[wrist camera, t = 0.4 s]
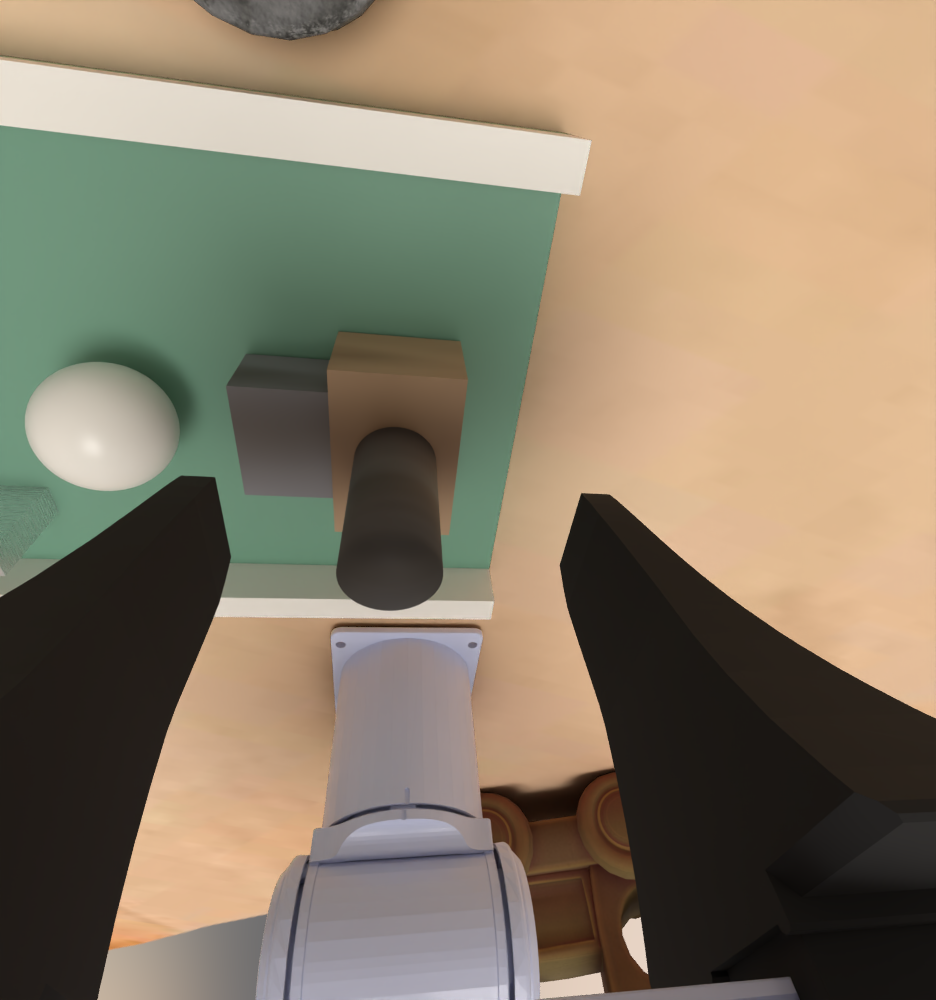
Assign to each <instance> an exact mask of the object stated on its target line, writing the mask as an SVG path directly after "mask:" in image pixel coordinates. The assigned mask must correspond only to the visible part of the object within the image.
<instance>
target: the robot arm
mask: <svg viewBox="0 0 936 1000" xmlns="http://www.w3.org/2000/svg"><path fill="white" fill-rule="evenodd" d="M230 560H231V553H230V548H229V543H228V538H227V533H226V528H225V523H224V519H223V514H222V509H221V504H220V499H219V494H218V489H217V484H216V479H215V477H205V476H183V475H181V476H179V477H178V478H176V479H175V480H173V481H172V482H170V483H169V484H167V485H166V486H165V487H163V488H162V489H160V490H159V491H158V492H156V493H155V494H154V495H152V496H151V497H149V498H148V499H147V500H145V501H144V502H143V503H141V504H140V505H139V506H137V507H136V508H134V509H133V510H132V511H130V512H129V513H128V514H126V515H125V516H123V517H122V518H121V519H119V520H118V521H116V522H115V523H114V524H112V525H111V526H109V527H108V528H107V529H105V530H104V531H102V532H101V533H100V534H98V535H97V536H95V537H94V538H93V539H91V540H90V541H88V542H87V543H85V544H84V545H82V546H81V547H79V548H77V549H76V550H74V551H73V552H71V553H70V554H68V555H67V556H65V557H64V558H62V559H61V560H59V561H58V562H56V563H55V564H53V565H51V566H50V567H48V568H47V569H45V570H44V571H42V572H41V573H39V574H38V575H36V576H35V577H33V578H31V579H30V580H28V581H26V582H25V583H23V584H21V585H20V586H18V587H16V588H15V589H13V590H11V591H10V592H8V593H6V594H4V595H3V596H1V597H0V1000H97V999H98V994H99V988H100V984H101V980H102V976H103V972H104V967H105V963H106V958H107V954H108V950H109V945H110V941H111V936H112V932H113V928H114V923H115V919H116V914H117V910H118V906H119V902H120V899H121V895H122V891H123V887H124V883H125V879H126V875H127V871H128V867H129V863H130V859H131V855H132V851H133V847H134V843H135V840H136V836H137V833H138V829H139V825H140V822H141V818H142V815H143V811H144V807H145V804H146V800H147V797H148V793H149V789H150V786H151V783H152V779H153V776H154V773H155V769H156V766H157V763H158V759H159V756H160V753H161V749H162V746H163V743H164V739H165V736H166V733H167V730H168V727H169V725H170V722H171V719H172V716H173V714H174V711H175V708H176V706H177V703H178V701H179V699H180V696H181V694H182V692H183V689H184V687H185V684H186V682H187V680H188V677H189V675H190V673H191V670H192V668H193V665H194V663H195V661H196V658H197V656H198V654H199V651H200V649H201V646H202V644H203V642H204V639H205V637H206V635H207V632H208V630H209V627H210V625H211V622H212V620H213V618H214V615H215V613H216V610H217V608H218V605H219V602H220V599H221V595H222V592H223V588H224V584H225V581H226V576H227V572H228V568H229V564H230ZM560 570H561V575H562V581H563V587H564V593H565V598H566V603H567V608H568V611H569V614H570V617H571V620H572V624H573V627H574V630H575V633H576V636H577V639H578V642H579V645H580V648H581V651H582V654H583V657H584V660H585V663H586V666H587V669H588V672H589V675H590V678H591V681H592V684H593V687H594V690H595V693H596V696H597V699H598V702H599V705H600V709H601V713H602V716H603V720H604V723H605V727H606V732H607V736H608V741H609V745H610V750H611V754H612V759H613V763H614V768H615V772H616V777H617V782H618V787H619V793H620V798H621V803H622V808H623V813H624V818H625V823H626V829H627V835H628V840H629V846H630V852H631V858H632V864H633V870H634V875H635V881H636V888H637V895H638V902H639V909H640V915H641V922H642V928H643V936H644V943H645V950H646V958H647V967H648V975H649V982H650V986H651V989H648V990H636V991H625V992H614V993H603V994H592V995H580V996H570V997H559V998H547V999H540V975H539V958H538V946H537V936H536V927H535V920H534V913H533V906H532V900H531V895H530V890H529V885H528V881H527V877H526V873H525V870H524V867H523V865H522V862H521V860H520V859H519V858H518V857H517V856H516V855H515V853H514V852H513V851H512V850H511V848H510V847H509V845H508V844H507V843H505V842H499V843H493V839H492V830H491V821H490V819H489V818H483V817H482V807H481V796H480V786H479V776H478V765H477V755H476V745H475V735H474V724H473V714H472V704H471V694H472V689H473V684H474V679H475V674H476V669H477V664H478V659H479V655H480V650H481V645H482V640H483V636H482V631H481V630H479V629H477V628H403V627H338V628H335V629H333V630H332V633H331V651H332V666H333V681H334V696H335V712H336V719H335V727H334V735H333V743H332V752H331V760H330V768H329V776H328V784H327V793H326V801H325V809H324V817H323V826H322V828H316V829H314V831H313V838H312V845H311V853H310V855H298V856H296V857H295V858H294V859H293V860H292V862H291V863H290V866H288V868H287V869H286V870H285V871H284V872H283V873H282V874H281V876H280V877H279V879H278V881H277V884H276V886H275V889H274V892H273V895H272V899H271V903H270V907H269V911H268V916H267V920H266V925H265V930H264V936H263V941H262V948H261V955H260V962H259V971H258V979H257V989H256V1000H936V718H933V717H931V716H929V715H927V714H925V713H923V712H921V711H919V710H917V709H915V708H913V707H911V706H909V705H907V704H905V703H903V702H901V701H899V700H897V699H895V698H893V697H891V696H889V695H887V694H885V693H883V692H882V691H880V690H878V689H876V688H874V687H872V686H870V685H868V684H866V683H864V682H863V681H861V680H859V679H857V678H855V677H854V676H852V675H850V674H848V673H846V672H844V671H843V670H841V669H839V668H837V667H836V666H834V665H832V664H831V663H829V662H827V661H826V660H824V659H822V658H821V657H819V656H817V655H816V654H814V653H812V652H811V651H809V650H807V649H806V648H804V647H802V646H801V645H799V644H797V643H796V642H794V641H793V640H791V639H789V638H788V637H786V636H785V635H783V634H782V633H780V632H779V631H777V630H776V629H774V628H773V627H771V626H770V625H768V624H767V623H765V622H764V621H762V620H761V619H760V618H758V617H757V616H755V615H754V614H752V613H751V612H749V611H748V610H747V609H745V608H744V607H742V606H741V605H740V604H738V603H737V602H736V601H734V600H733V599H731V598H730V597H729V596H727V595H726V594H725V593H724V592H722V591H721V590H720V589H719V588H717V587H716V586H715V585H714V584H712V583H711V582H710V581H709V580H707V579H706V578H705V577H703V576H702V575H701V574H700V573H699V572H697V571H696V570H695V569H694V568H693V567H691V566H690V565H689V564H688V563H687V562H685V561H684V560H683V559H682V558H681V557H680V556H678V555H677V554H676V553H675V552H674V551H673V550H672V549H670V548H669V547H668V546H667V545H666V544H665V543H664V542H663V541H661V540H660V539H659V538H658V537H657V536H656V535H655V534H654V533H653V532H651V531H650V530H649V529H648V528H647V527H646V526H645V525H644V524H643V523H642V522H640V521H639V520H638V519H637V518H636V517H635V516H634V515H633V514H632V513H631V512H629V511H628V510H627V509H626V508H625V507H624V506H623V505H622V504H620V503H619V502H618V501H617V500H616V499H614V498H613V497H612V496H611V495H608V494H586V493H581V496H580V499H579V503H578V506H577V509H576V513H575V516H574V519H573V523H572V526H571V529H570V533H569V536H568V539H567V543H566V546H565V550H564V553H563V556H562V560H561V563H560Z"/></svg>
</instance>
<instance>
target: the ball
mask: <svg viewBox="0 0 936 1000" xmlns="http://www.w3.org/2000/svg"><path fill="white" fill-rule="evenodd" d="M25 431H26V435H27V439H28V441H29V444H30V446H31V448H32V450H33V452H34V453H35V455H36V456H37V458H38V459H39V460H40V461H41V462H42V464H43V465H44V466H45V467H46V468H47V469H48V470H50V471H51V472H52V473H54V474H55V475H57V476H58V477H60V478H61V479H63V480H65V481H67V482H69V483H71V484H74V485H76V486H79V487H83V488H87V489H92V490H99V491H117V490H125V489H129V488H133V487H136V486H139V485H142V484H144V483H146V482H148V481H149V480H151V479H153V478H154V477H156V476H157V475H158V474H159V473H161V472H162V471H163V470H164V469H165V468H166V467H167V465H168V464H169V463H170V461H171V460H172V458H173V456H174V454H175V452H176V450H177V447H178V443H179V437H180V425H179V419H178V416H177V413H176V410H175V408H174V406H173V403H172V402H171V400H170V399H169V397H168V396H167V395H166V393H165V392H164V391H163V390H162V389H161V388H160V387H159V386H158V385H157V384H156V383H155V382H154V381H152V380H151V379H150V378H148V377H147V376H145V375H143V374H142V373H140V372H138V371H136V370H133V369H131V368H129V367H126V366H123V365H119V364H114V363H107V362H86V363H79V364H75V365H71V366H68V367H65V368H63V369H60V370H58V371H57V372H55V373H53V374H52V375H50V376H49V377H47V378H46V379H45V380H44V381H43V382H42V383H41V384H40V385H39V386H38V387H37V388H36V389H35V391H34V392H33V394H32V396H31V397H30V399H29V402H28V404H27V408H26V413H25Z"/></svg>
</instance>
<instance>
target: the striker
mask: <svg viewBox="0 0 936 1000" xmlns="http://www.w3.org/2000/svg"><path fill="white" fill-rule="evenodd" d="M467 384H468V377H467V372H466V367H465V362H464V357H463V352H462V346H461V341H451V340H438V339H426V338H413V337H401V336H389V335H376V334H364V333H351V332H339V331H338V334H337V338H336V341H335V344H334V348H333V351H332V354H331V357H330V360H323V359H309V358H296V357H282V356H268V355H255V354H246V355H245V356H244V358H243V360H242V361H241V363H240V364H239V366H238V367H237V369H236V371H235V372H234V374H233V375H232V377H231V379H230V380H229V382H228V383H227V385H226V390H227V395H228V401H229V407H230V413H231V418H232V424H233V430H234V436H235V441H236V447H237V453H238V459H239V464H240V470H241V476H242V482H243V487H244V493H245V495H260V496H286V497H312V498H333V507H334V527H335V532H342V536H341V542H340V549H339V555H338V561H337V568H336V578H337V582H338V584H339V586H340V588H341V590H342V591H343V592H344V593H345V594H346V595H347V596H348V597H349V598H350V599H352V600H353V601H355V602H356V603H358V604H360V605H362V606H365V607H368V608H371V609H376V610H382V611H397V610H404V609H409V608H412V607H415V606H417V605H420V604H422V603H423V602H425V601H427V600H428V599H430V598H431V597H432V596H433V595H434V594H435V593H436V592H437V590H438V589H439V587H440V585H441V583H442V580H443V559H442V544H441V535H449V531H450V523H451V515H452V507H453V498H454V490H455V482H456V474H457V466H458V457H459V449H460V441H461V433H462V425H463V416H464V408H465V400H466V392H467Z"/></svg>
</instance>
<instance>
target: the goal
mask: <svg viewBox="0 0 936 1000" xmlns="http://www.w3.org/2000/svg"><path fill="white" fill-rule="evenodd" d="M58 513H59V510H58V508H57V506H56V503H55V501H54V499H53V497H52V494H51V492H50V490H49V488H48V487H31V486H5V485H0V576H6V575H7V574H8V573H9V571H10V570H11V569H12V568H13V567H14V565H15V564H16V563H17V562H18V561H19V559H20V558H21V557H22V556H23V555H24V553H25V552H26V551H27V550H28V549H29V547H30V546H31V545H32V544H33V543H34V542H35V540H36V539H37V538H38V537H39V536H40V534H41V533H42V532H43V531H44V530H45V528H46V527H47V526H48V525H49V524H50V522H51V521H52V520H53V519H54V518H55V516H56V515H57V514H58Z"/></svg>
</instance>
